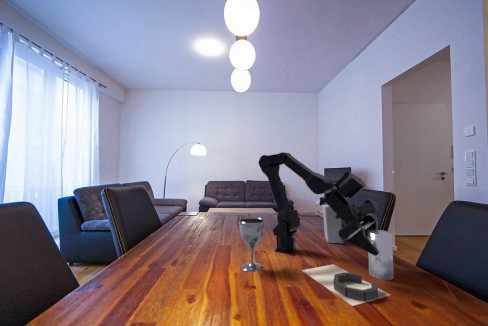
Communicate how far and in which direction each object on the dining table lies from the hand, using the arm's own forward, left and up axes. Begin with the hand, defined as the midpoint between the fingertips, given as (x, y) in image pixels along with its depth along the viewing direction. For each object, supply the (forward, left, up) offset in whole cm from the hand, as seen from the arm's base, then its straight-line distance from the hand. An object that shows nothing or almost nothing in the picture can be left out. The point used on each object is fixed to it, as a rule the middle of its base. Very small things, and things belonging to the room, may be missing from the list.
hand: (381, 250), depth 63 cm
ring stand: (-10, -10, -8) cm, 16 cm away
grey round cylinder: (0, 0, -8) cm, 8 cm away
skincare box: (-18, +31, -8) cm, 36 cm away
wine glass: (-36, -11, -8) cm, 39 cm away
